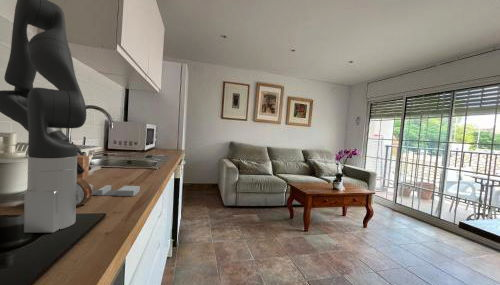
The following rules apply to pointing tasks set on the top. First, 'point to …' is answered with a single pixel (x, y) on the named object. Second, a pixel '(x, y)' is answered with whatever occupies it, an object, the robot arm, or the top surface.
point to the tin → (82, 192)
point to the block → (83, 166)
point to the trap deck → (116, 191)
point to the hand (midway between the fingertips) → (85, 171)
